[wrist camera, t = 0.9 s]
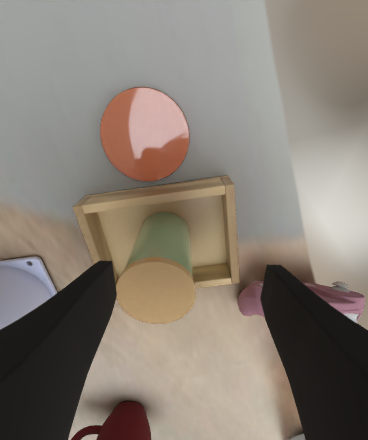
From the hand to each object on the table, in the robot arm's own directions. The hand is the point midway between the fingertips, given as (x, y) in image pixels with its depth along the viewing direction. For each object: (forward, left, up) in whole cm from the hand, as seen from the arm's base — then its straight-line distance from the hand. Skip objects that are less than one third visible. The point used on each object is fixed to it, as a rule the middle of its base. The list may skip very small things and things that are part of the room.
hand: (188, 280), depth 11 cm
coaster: (-2, +6, -10) cm, 12 cm away
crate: (-2, -2, -10) cm, 10 cm away
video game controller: (+9, -10, -10) cm, 17 cm away
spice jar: (-2, -2, -9) cm, 10 cm away
